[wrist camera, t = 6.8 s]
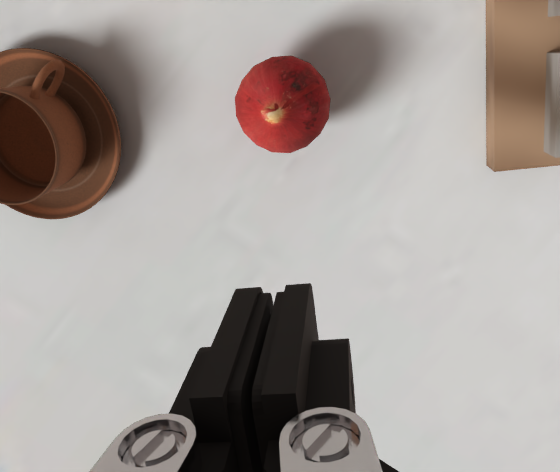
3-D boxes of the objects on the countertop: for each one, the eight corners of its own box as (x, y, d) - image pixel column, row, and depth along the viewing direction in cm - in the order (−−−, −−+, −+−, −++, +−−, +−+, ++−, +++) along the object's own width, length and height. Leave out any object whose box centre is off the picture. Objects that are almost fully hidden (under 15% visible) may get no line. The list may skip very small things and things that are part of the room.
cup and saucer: (-26, 30, 37) (-93, 28, 32) (138, 69, 37) (101, 73, 31) (-27, 191, 42) (-86, 215, 36) (120, 227, 41) (85, 257, 36)
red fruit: (289, 35, 35) (275, 33, 28) (348, 99, 36) (350, 114, 29) (229, 98, 37) (201, 113, 30) (287, 158, 38) (274, 186, 30)
